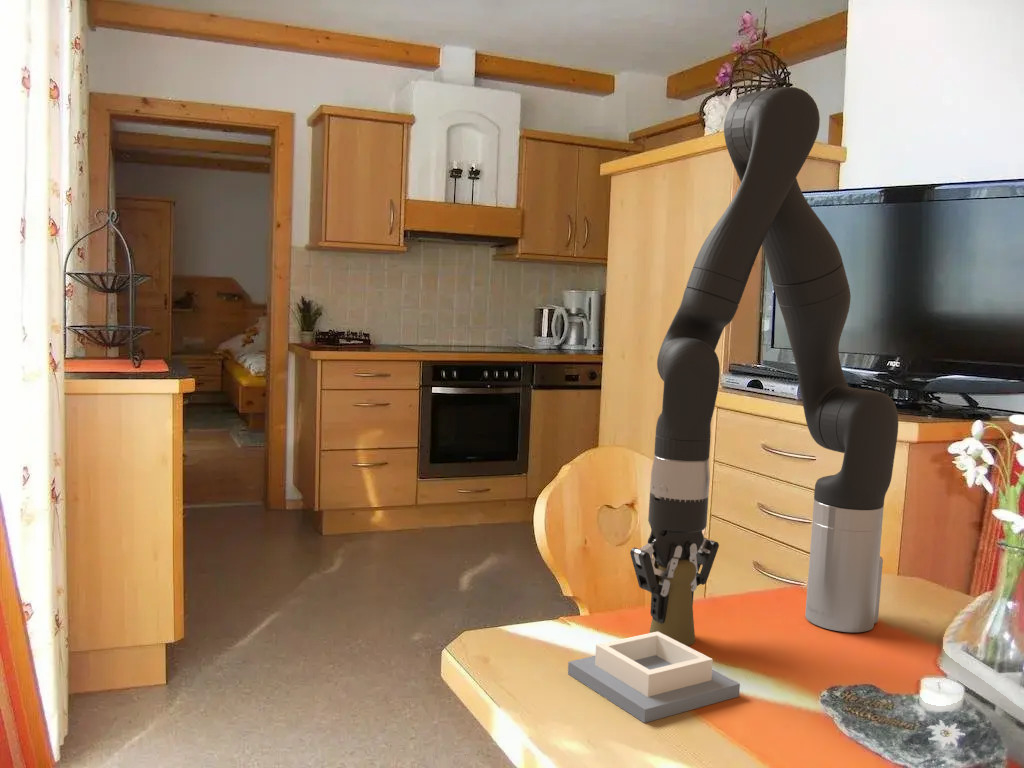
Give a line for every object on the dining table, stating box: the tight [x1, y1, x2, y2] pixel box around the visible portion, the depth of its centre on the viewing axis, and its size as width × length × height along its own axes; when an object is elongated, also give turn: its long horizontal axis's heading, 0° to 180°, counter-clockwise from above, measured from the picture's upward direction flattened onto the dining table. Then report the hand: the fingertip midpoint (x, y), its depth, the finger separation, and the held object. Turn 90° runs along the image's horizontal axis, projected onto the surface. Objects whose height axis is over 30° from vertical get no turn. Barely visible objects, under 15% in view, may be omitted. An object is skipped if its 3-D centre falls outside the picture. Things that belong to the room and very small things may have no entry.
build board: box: [567, 631, 741, 724], centre depth 108 cm, size 14×14×4 cm
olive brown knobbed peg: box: [649, 559, 696, 647], centre depth 122 cm, size 6×6×11 cm
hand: (670, 618), depth 122 cm, fingers closed on olive brown knobbed peg, 3 cm apart
